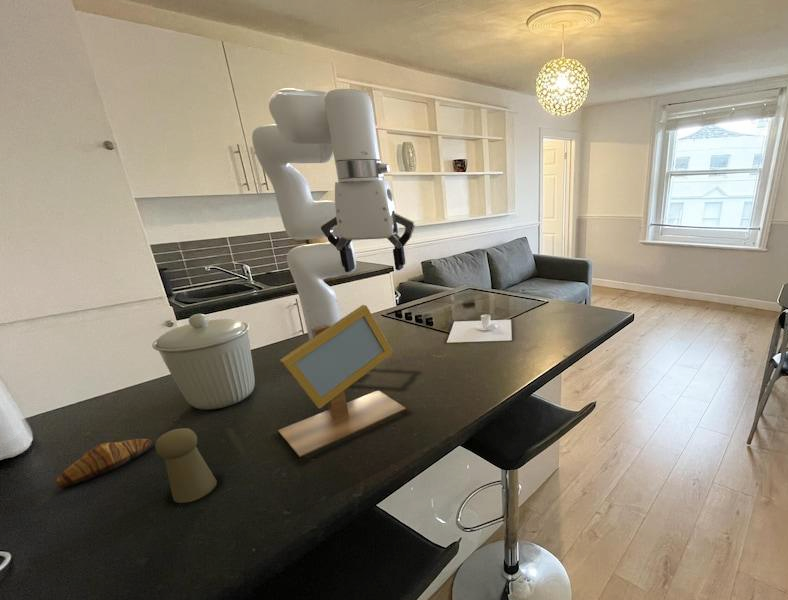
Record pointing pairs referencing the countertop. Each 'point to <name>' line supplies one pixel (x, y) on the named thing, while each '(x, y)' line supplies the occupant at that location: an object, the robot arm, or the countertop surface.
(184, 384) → the canister
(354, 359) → the picture frame
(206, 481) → the cork
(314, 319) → the robot arm
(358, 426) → the display stand
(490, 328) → the teacup and saucer
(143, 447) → the croissant
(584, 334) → the countertop surface
